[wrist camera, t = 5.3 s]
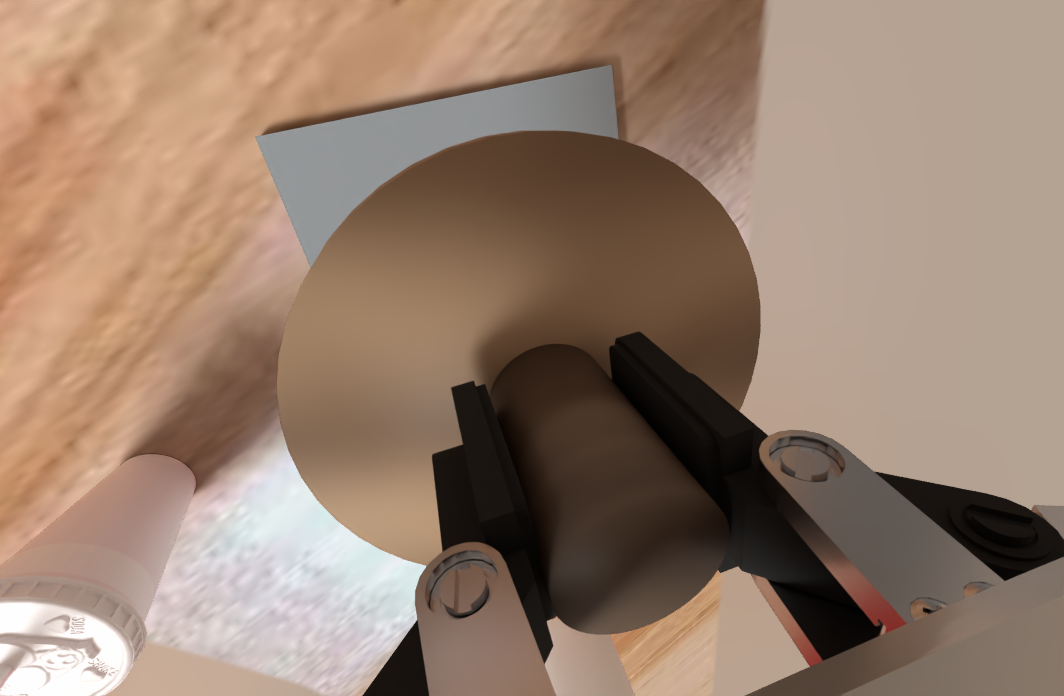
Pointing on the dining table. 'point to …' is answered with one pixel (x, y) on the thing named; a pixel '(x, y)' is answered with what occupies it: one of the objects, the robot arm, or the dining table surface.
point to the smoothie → (91, 583)
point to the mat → (418, 142)
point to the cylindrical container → (584, 664)
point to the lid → (525, 357)
